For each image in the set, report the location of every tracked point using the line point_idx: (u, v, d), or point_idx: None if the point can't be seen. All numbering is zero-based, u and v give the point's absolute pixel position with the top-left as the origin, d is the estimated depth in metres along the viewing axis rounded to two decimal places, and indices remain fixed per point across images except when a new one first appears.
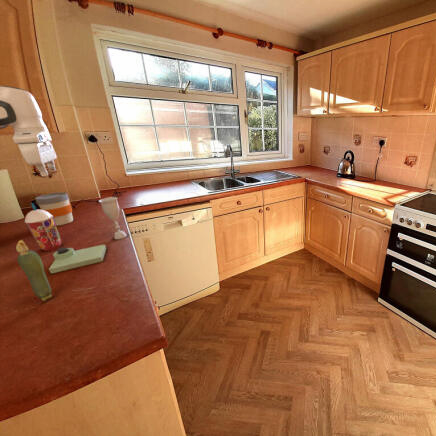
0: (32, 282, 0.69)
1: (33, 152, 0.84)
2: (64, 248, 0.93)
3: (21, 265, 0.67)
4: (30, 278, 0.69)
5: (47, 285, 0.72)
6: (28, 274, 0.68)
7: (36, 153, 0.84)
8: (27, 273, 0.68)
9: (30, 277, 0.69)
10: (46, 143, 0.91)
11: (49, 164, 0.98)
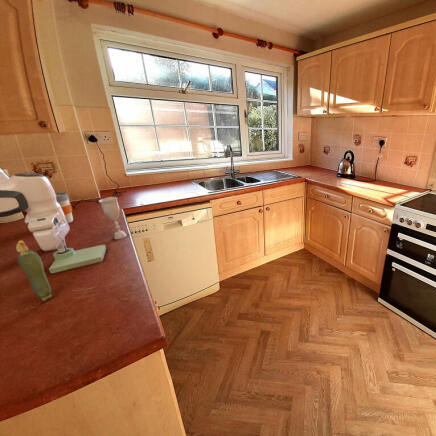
0: (32, 282, 0.69)
1: (48, 238, 0.82)
2: (65, 250, 0.93)
3: (21, 265, 0.67)
4: (30, 278, 0.69)
5: (47, 285, 0.72)
6: (28, 274, 0.68)
7: (52, 239, 0.83)
8: (27, 273, 0.68)
9: (30, 277, 0.69)
10: (60, 223, 0.89)
11: None
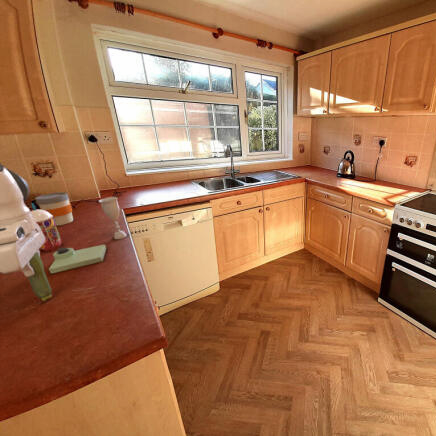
0: (32, 282, 0.69)
1: (9, 256, 0.59)
2: (64, 248, 0.93)
3: None
4: (30, 278, 0.69)
5: (47, 285, 0.72)
6: None
7: (14, 258, 0.59)
8: None
9: (30, 277, 0.69)
10: (29, 233, 0.66)
11: None
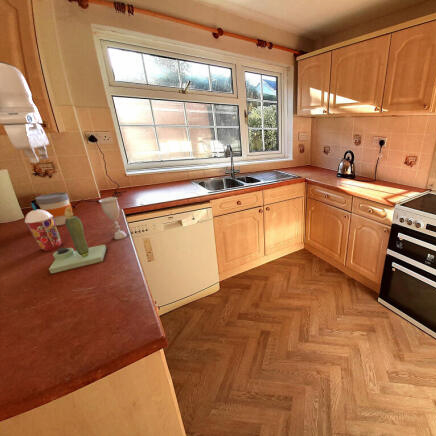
0: (75, 241, 0.89)
1: (21, 134, 0.75)
2: (64, 248, 0.93)
3: (68, 226, 0.86)
4: (74, 238, 0.89)
5: (86, 245, 0.91)
6: (72, 234, 0.88)
7: (25, 136, 0.75)
8: (72, 233, 0.88)
9: (74, 237, 0.88)
10: (36, 126, 0.82)
11: (40, 150, 0.89)
